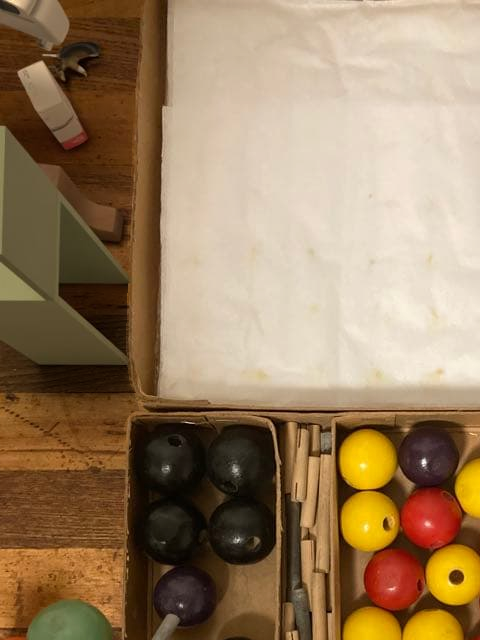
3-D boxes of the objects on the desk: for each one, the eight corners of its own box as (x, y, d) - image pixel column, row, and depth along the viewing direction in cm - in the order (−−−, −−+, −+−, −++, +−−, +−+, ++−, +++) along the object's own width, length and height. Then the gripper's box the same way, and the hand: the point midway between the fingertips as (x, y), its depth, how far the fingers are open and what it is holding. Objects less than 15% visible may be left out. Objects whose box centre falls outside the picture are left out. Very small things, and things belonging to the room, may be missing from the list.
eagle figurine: (81, 97, 151) (111, 56, 150) (48, 68, 146) (79, 24, 144) (67, 85, 156) (96, 45, 155) (33, 56, 150) (63, 14, 149)
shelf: (38, 364, 149) (-134, 253, 101) (40, 276, 150) (-128, 124, 102) (128, 364, 150) (1, 254, 101) (130, 277, 151) (5, 125, 102)
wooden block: (124, 218, 151) (88, 168, 133) (121, 243, 151) (84, 195, 133) (75, 212, 151) (32, 161, 133) (71, 236, 151) (28, 188, 133)
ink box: (89, 140, 152) (64, 102, 140) (65, 152, 152) (37, 115, 140) (69, 99, 153) (41, 57, 141) (44, 110, 152) (15, 70, 141)
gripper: (-105, -38, 116) (-52, 29, 129) (34, 14, 115) (72, 76, 129) (-87, -79, 116) (-36, -7, 130) (52, -27, 116) (87, 39, 130)
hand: (19, 35), depth 129 cm, fingers open, 8 cm apart
